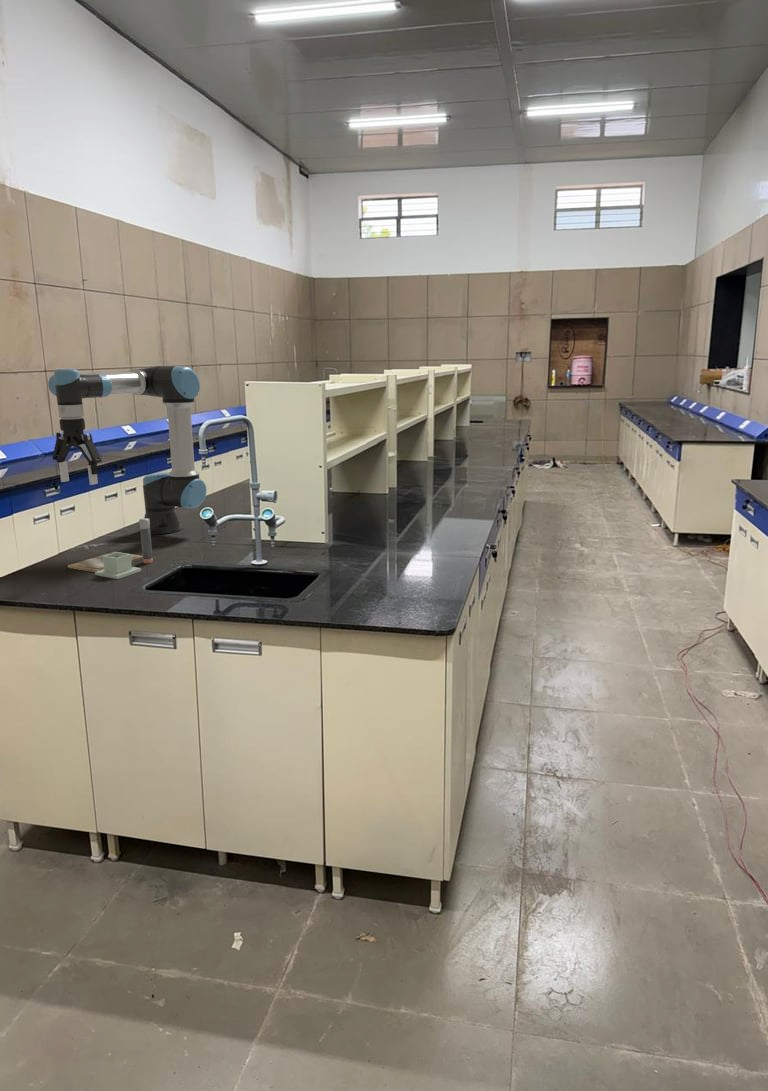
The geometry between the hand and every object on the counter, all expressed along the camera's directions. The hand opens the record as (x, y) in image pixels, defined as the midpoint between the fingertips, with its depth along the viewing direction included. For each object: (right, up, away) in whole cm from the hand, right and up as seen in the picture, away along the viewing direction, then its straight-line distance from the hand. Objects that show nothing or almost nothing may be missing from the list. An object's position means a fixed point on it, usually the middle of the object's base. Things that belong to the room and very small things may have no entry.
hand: (79, 482), depth 243 cm
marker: (+20, -27, +8) cm, 34 cm away
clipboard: (+6, -27, +7) cm, 28 cm away
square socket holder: (+15, -30, -5) cm, 34 cm away
